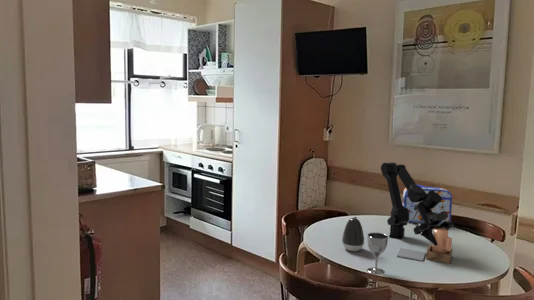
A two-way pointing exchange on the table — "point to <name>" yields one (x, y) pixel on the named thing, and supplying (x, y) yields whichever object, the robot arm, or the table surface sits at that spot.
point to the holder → (438, 255)
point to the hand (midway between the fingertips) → (442, 244)
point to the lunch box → (442, 206)
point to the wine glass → (377, 249)
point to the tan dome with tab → (442, 241)
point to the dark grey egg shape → (353, 235)
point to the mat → (411, 254)
